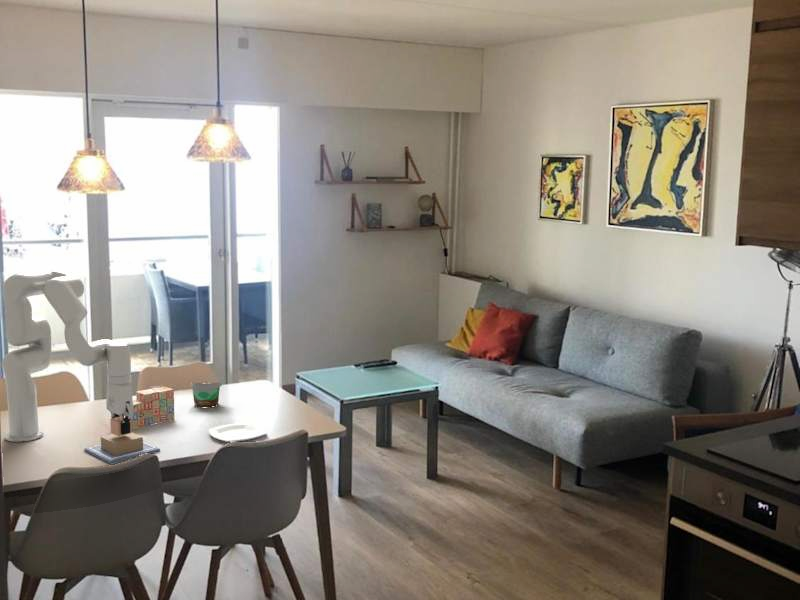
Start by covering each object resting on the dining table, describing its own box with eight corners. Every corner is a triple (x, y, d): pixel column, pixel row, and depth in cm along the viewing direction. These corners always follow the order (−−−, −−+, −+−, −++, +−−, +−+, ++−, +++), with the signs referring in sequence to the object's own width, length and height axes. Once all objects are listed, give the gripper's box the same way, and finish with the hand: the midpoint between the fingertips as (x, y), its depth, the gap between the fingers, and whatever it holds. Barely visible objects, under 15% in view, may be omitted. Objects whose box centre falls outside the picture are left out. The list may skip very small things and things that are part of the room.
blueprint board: (84, 450, 286) (83, 436, 285) (132, 439, 299) (132, 425, 298) (110, 464, 274) (110, 449, 273) (160, 451, 287) (159, 437, 286)
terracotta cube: (110, 433, 285) (110, 418, 285) (124, 429, 289) (123, 415, 288) (118, 436, 282) (117, 421, 281) (131, 433, 286) (131, 418, 285)
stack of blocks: (122, 431, 308) (120, 398, 306) (114, 427, 312) (112, 395, 311) (174, 420, 323) (174, 388, 321) (166, 416, 327) (165, 385, 325)
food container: (190, 409, 336) (190, 385, 335) (190, 405, 342) (190, 381, 341) (222, 408, 339) (221, 383, 338) (221, 403, 345) (221, 380, 344)
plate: (201, 434, 307) (201, 428, 307) (250, 425, 318) (250, 420, 318) (223, 448, 292) (223, 443, 292) (273, 438, 303) (273, 433, 303)
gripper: (96, 376, 286) (98, 428, 289) (121, 386, 274) (123, 439, 277) (117, 373, 291) (119, 423, 294) (142, 382, 280) (144, 434, 282)
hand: (121, 431), depth 285 cm, fingers closed on terracotta cube, 5 cm apart
